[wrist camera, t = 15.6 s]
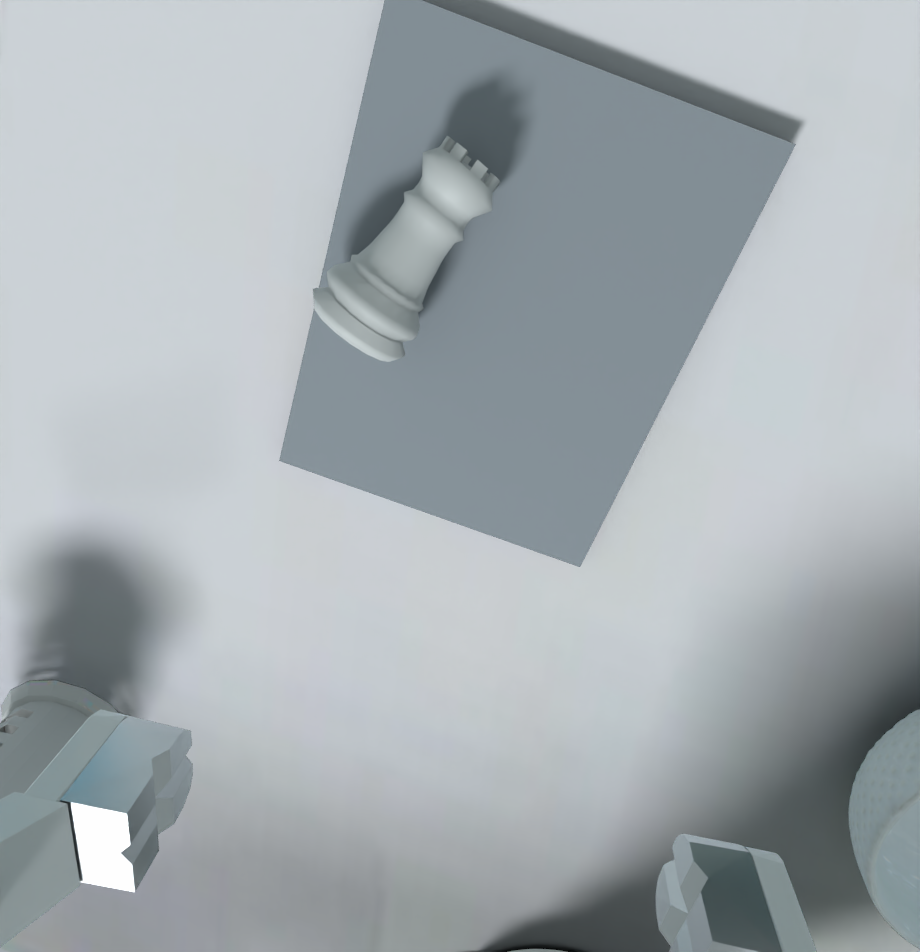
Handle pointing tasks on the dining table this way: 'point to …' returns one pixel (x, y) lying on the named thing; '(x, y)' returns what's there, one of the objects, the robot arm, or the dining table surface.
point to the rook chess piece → (405, 255)
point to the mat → (526, 280)
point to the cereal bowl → (891, 826)
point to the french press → (39, 728)
